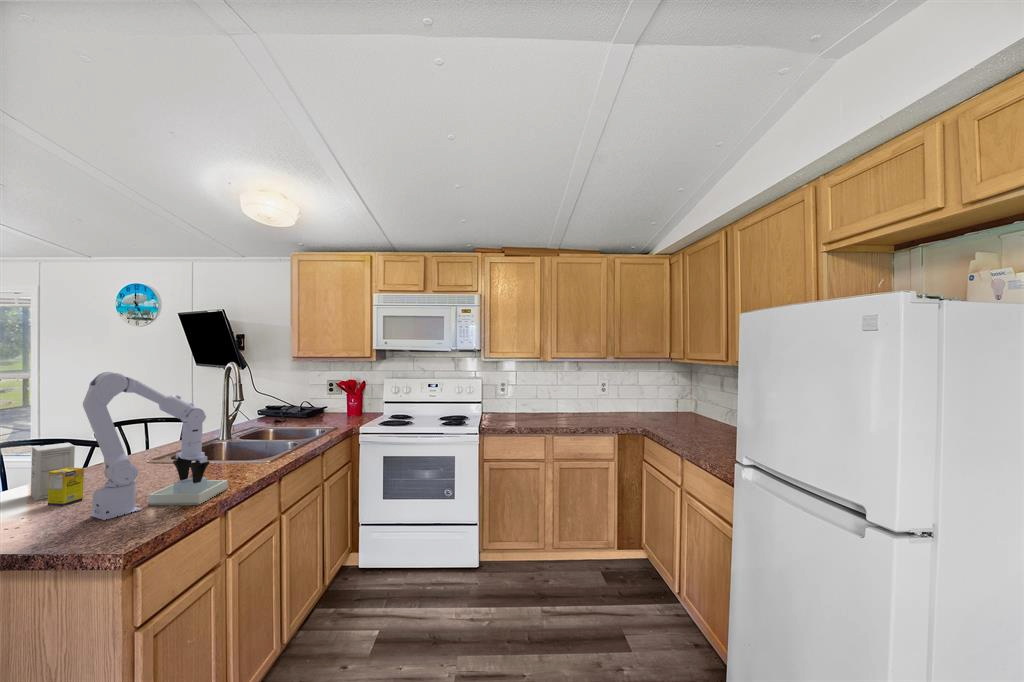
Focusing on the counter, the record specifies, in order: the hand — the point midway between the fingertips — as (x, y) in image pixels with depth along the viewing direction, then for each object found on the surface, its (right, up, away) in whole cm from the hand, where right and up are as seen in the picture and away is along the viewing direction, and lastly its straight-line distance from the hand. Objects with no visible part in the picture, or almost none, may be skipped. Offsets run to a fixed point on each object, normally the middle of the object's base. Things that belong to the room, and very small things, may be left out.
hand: (190, 481), depth 149 cm
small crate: (0, -5, 0) cm, 5 cm away
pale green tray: (0, -6, 0) cm, 6 cm away
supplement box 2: (-49, -5, +1) cm, 49 cm away
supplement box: (-36, -5, -7) cm, 37 cm away
